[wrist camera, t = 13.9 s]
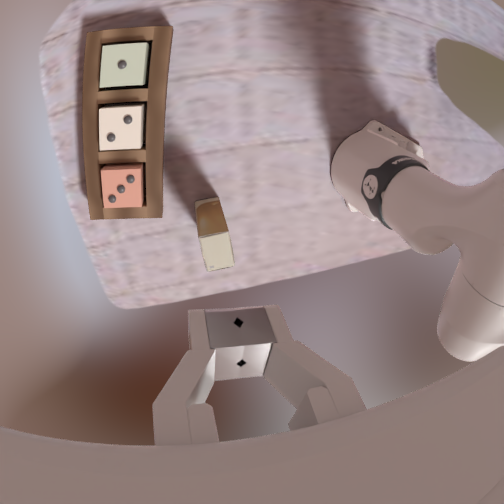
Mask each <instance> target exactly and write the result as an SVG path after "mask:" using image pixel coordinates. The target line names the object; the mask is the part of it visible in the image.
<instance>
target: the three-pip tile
mask: <svg viewBox="0 0 504 504" xmlns="http://www.w3.org/2000/svg"><path fill="white" fill-rule="evenodd" d="M101 181H102V192H103V203H104V208H123V207H142V204H143V200H144V196H145V162H127V163H107V164H105V165H104V167H103V168H102V170H101Z"/></svg>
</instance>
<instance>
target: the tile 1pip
mask: <svg viewBox="0 0 504 504" xmlns="http://www.w3.org/2000/svg"><path fill="white" fill-rule="evenodd" d="M150 48H151V46H150V45H149V44H148V43H130V44H117V45H107V46H103V48H102V59H101V72H100V88H103V87H115V86H130V85H144V84H147V80H148V68H149V58H150Z"/></svg>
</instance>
